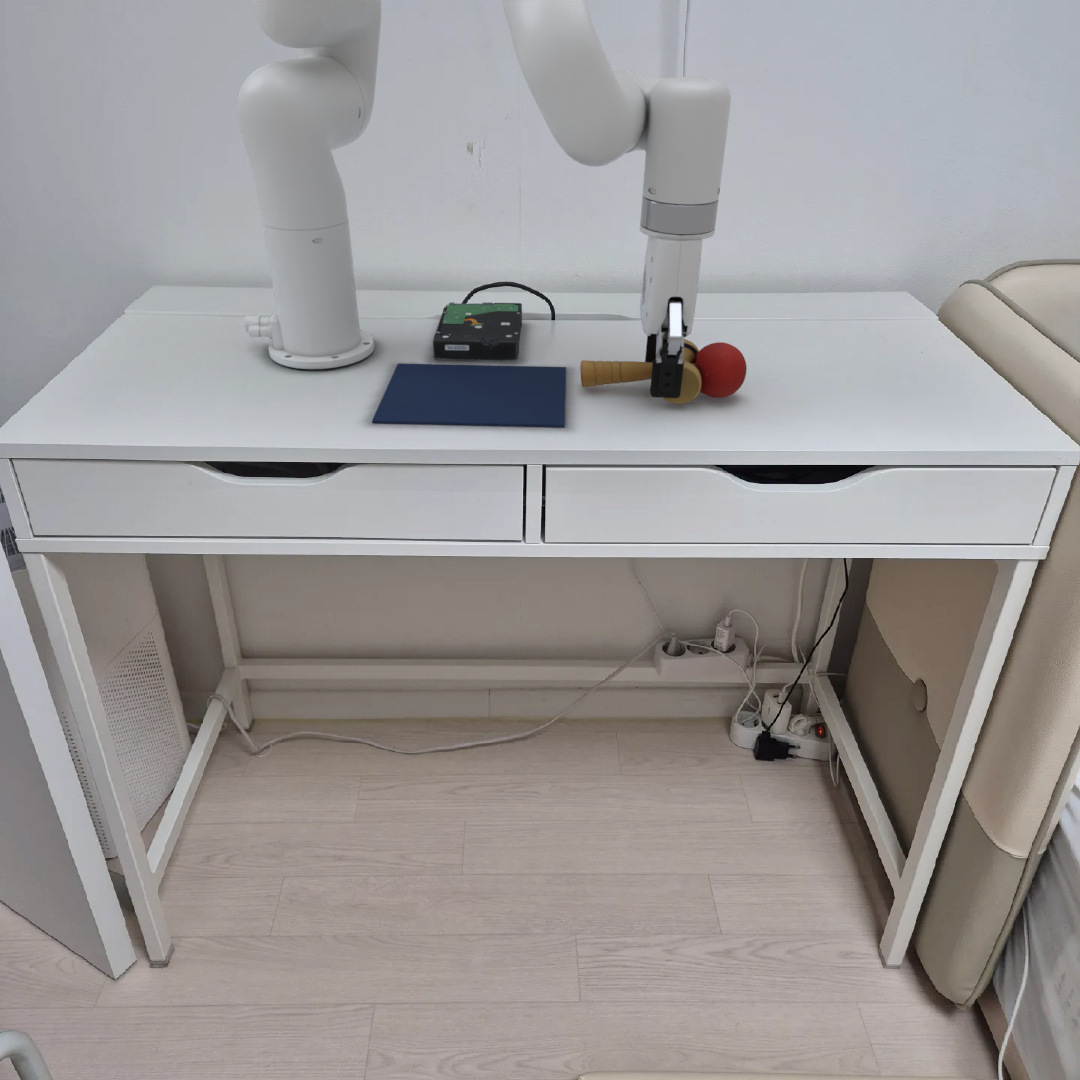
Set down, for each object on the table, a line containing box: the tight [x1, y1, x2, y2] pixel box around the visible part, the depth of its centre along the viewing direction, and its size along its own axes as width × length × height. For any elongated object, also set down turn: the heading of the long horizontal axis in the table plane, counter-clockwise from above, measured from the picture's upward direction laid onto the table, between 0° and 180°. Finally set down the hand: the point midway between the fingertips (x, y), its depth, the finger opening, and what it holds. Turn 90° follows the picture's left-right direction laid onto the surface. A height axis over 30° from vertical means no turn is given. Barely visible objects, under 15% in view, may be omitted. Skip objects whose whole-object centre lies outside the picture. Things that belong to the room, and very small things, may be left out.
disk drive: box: [432, 301, 523, 362], centre depth 113 cm, size 10×3×15 cm
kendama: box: [579, 338, 747, 405], centre depth 99 cm, size 8×6×18 cm
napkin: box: [371, 363, 567, 428], centre depth 100 cm, size 20×16×1 cm
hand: (661, 380), depth 99 cm, fingers closed on kendama, 7 cm apart
